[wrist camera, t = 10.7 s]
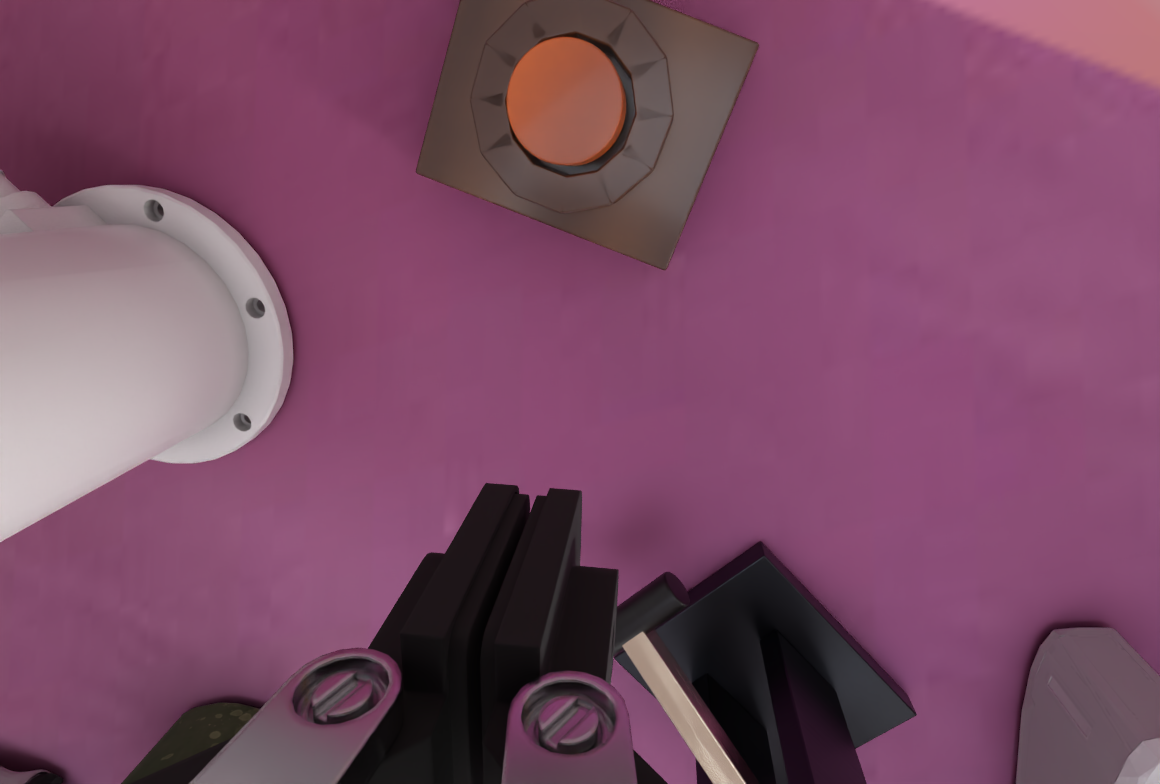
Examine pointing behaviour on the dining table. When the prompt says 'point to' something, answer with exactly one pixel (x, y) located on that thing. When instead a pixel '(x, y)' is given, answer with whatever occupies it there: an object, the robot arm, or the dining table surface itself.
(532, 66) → the button
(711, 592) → the switch bracket
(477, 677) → the robot arm
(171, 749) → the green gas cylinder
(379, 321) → the dining table surface
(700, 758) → the switch lever
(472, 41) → the button block
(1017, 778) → the digital camera
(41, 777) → the gaming controller
